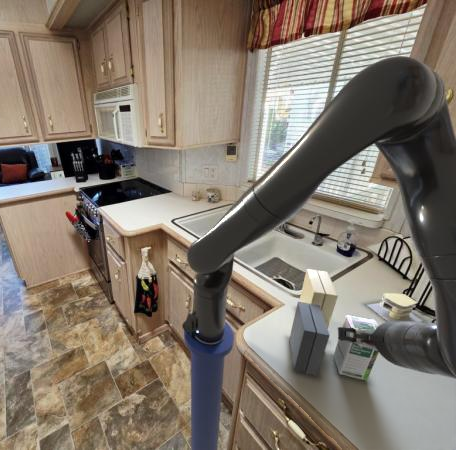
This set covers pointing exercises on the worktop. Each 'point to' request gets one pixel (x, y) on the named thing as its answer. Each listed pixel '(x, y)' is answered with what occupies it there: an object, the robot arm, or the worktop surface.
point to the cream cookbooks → (319, 292)
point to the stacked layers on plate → (395, 308)
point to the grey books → (308, 338)
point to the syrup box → (355, 351)
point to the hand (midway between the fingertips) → (367, 339)
